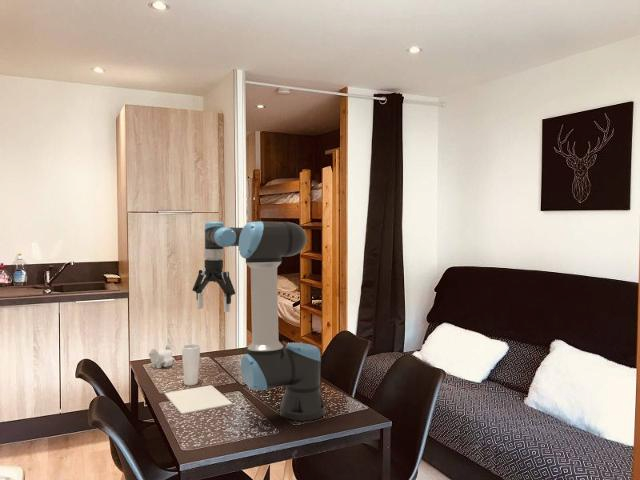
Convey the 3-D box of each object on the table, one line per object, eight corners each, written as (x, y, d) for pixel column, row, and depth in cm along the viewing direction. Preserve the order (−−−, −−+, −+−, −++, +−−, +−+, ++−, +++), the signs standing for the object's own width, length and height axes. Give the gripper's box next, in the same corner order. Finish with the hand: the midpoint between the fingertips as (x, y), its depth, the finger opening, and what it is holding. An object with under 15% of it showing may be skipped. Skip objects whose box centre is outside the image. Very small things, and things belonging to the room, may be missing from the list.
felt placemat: (232, 404, 175) (232, 403, 175) (181, 414, 165) (181, 413, 165) (211, 386, 194) (211, 385, 194) (164, 394, 184) (164, 393, 184)
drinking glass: (190, 380, 201) (191, 343, 200) (203, 383, 198) (203, 345, 197) (178, 384, 195) (178, 346, 195) (190, 387, 192) (190, 349, 191)
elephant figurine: (163, 372, 211) (163, 351, 211) (144, 367, 217) (144, 347, 217) (180, 366, 219) (180, 346, 219) (161, 362, 225) (161, 342, 225)
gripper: (244, 260, 203) (243, 311, 204) (196, 256, 214) (195, 305, 215) (233, 261, 196) (232, 314, 197) (184, 258, 207) (183, 308, 208)
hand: (213, 310), depth 206 cm, fingers open, 13 cm apart
